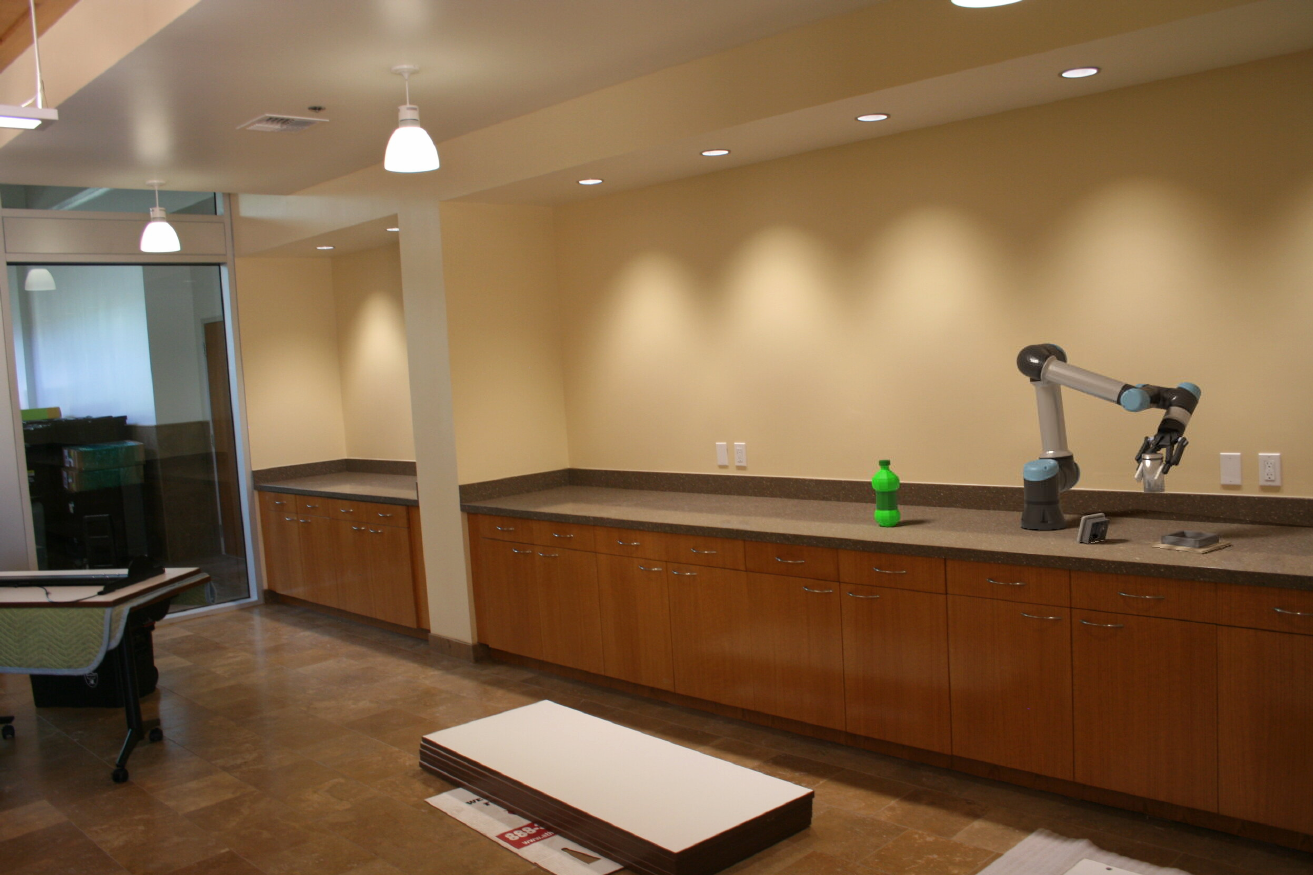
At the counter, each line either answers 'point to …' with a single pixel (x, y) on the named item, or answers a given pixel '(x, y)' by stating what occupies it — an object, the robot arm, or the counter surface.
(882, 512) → the plastic bottle
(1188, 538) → the collar plate
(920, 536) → the counter surface
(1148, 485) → the steel piston
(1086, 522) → the electrical switch
